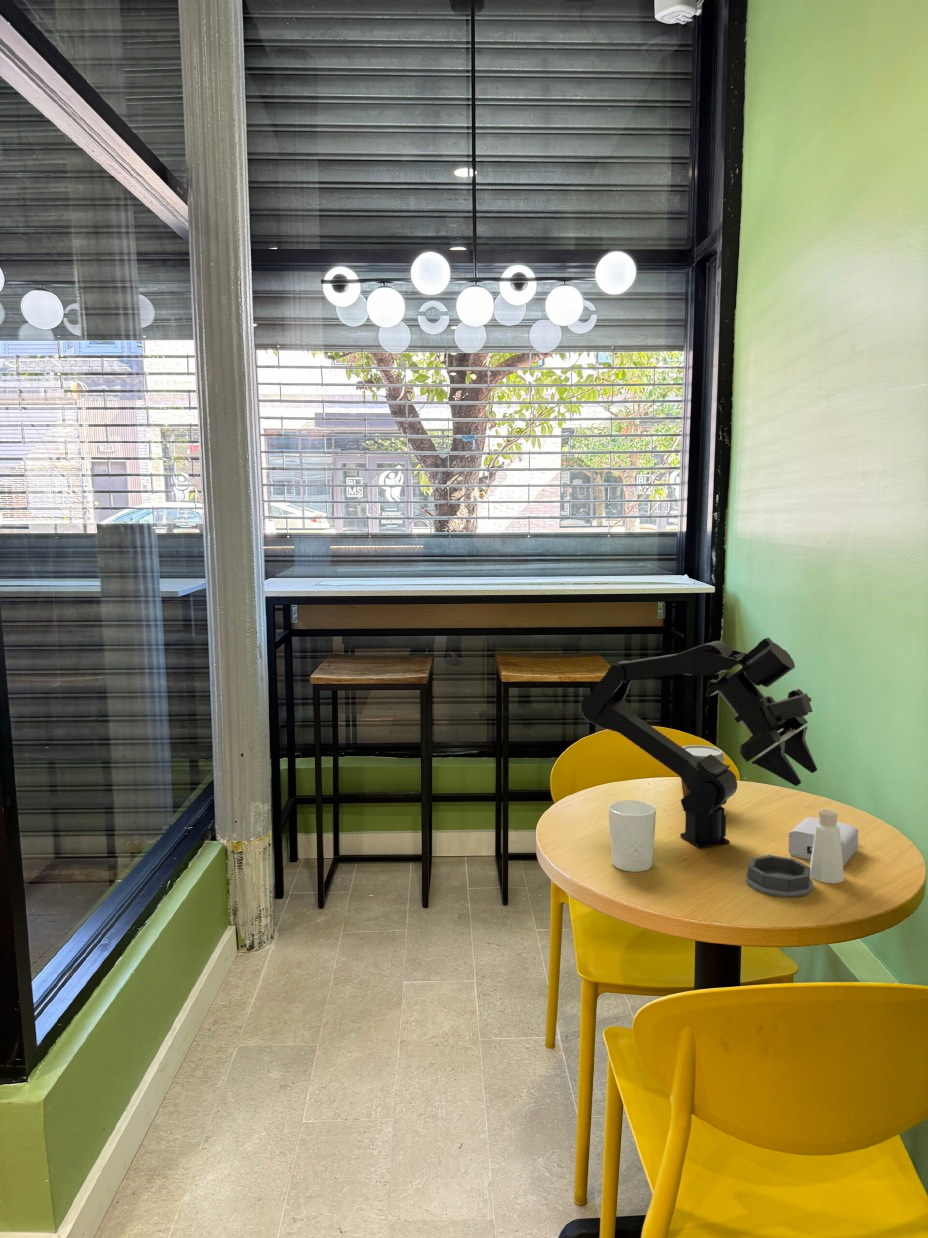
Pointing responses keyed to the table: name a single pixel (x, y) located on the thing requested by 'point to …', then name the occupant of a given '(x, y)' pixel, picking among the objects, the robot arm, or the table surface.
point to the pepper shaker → (827, 850)
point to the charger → (804, 839)
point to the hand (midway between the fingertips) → (807, 778)
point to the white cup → (632, 834)
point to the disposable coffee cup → (702, 753)
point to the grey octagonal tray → (779, 876)
